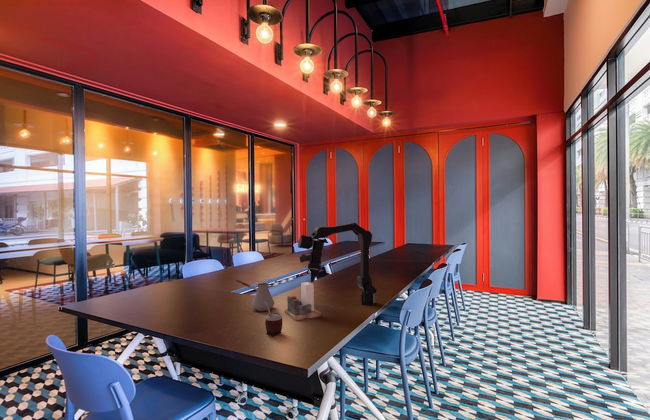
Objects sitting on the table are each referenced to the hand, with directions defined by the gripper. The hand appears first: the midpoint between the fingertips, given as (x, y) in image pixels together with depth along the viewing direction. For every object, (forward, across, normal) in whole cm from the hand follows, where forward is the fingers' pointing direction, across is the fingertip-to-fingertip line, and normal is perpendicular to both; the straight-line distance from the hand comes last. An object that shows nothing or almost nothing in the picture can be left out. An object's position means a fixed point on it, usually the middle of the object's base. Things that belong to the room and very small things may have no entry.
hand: (312, 280), depth 175 cm
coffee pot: (+20, -4, -27) cm, 34 cm away
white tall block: (+14, +5, 0) cm, 15 cm away
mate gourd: (+20, +33, -12) cm, 40 cm away
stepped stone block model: (+16, +6, -2) cm, 17 cm away
